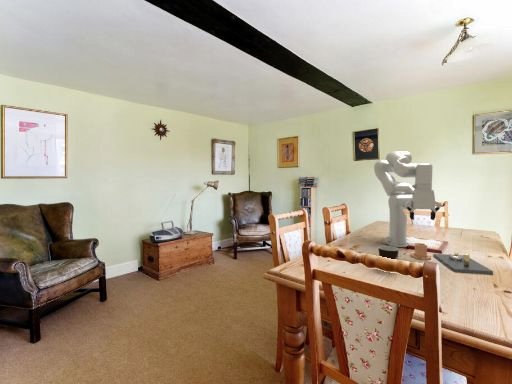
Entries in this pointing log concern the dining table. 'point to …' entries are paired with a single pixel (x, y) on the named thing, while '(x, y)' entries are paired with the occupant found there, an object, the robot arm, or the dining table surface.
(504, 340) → the dining table surface
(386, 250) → the coffee mug
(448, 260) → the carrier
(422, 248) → the hollow square star tube
